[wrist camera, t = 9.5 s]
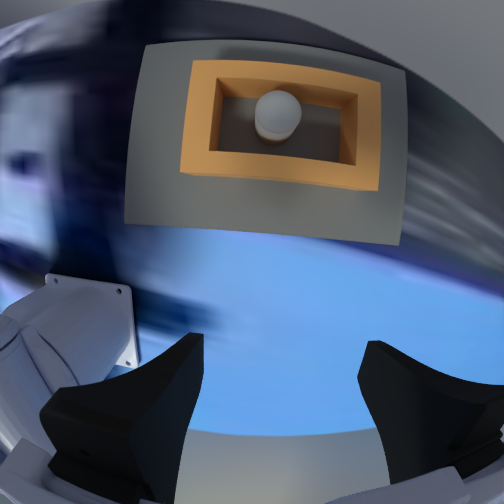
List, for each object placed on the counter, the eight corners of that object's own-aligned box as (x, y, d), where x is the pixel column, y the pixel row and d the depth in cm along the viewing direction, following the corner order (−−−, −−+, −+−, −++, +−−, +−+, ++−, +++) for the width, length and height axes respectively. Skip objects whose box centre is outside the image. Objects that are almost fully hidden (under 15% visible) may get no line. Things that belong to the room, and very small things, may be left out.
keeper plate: (129, 222, 19) (85, 235, 13) (150, 50, 16) (118, 13, 10) (392, 243, 19) (438, 263, 13) (399, 74, 16) (439, 46, 10)
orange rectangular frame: (193, 175, 18) (179, 172, 14) (203, 81, 16) (193, 60, 13) (356, 190, 18) (377, 191, 14) (360, 98, 16) (380, 82, 13)
